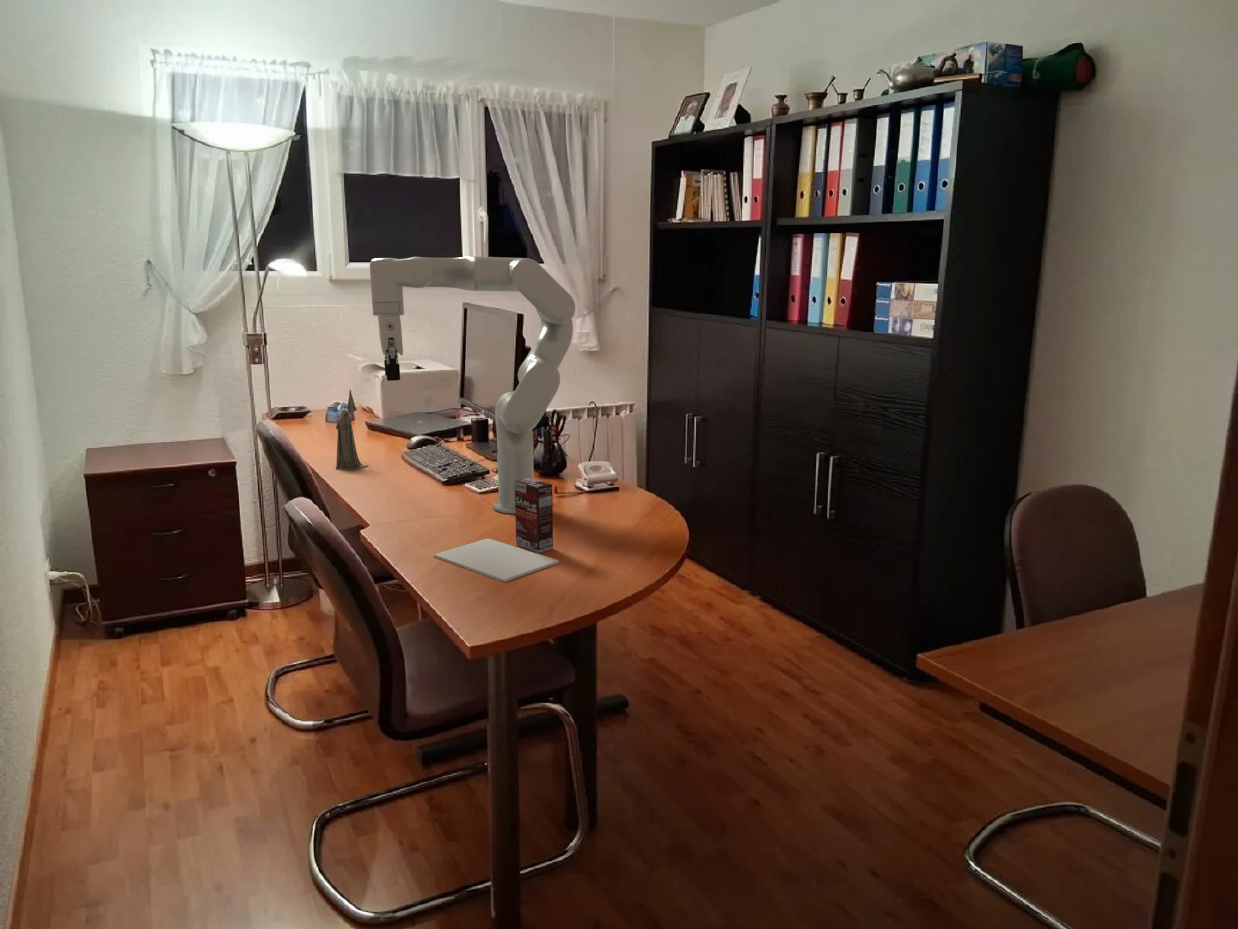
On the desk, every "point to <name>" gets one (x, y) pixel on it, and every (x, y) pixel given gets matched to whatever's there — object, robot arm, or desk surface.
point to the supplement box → (534, 515)
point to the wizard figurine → (347, 440)
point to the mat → (496, 559)
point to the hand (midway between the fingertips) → (392, 377)
